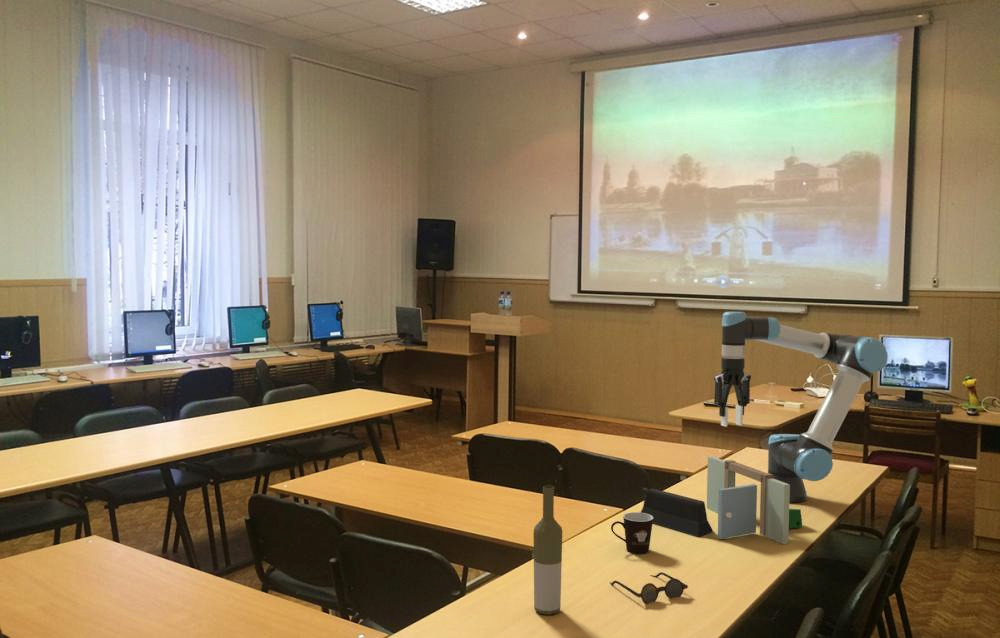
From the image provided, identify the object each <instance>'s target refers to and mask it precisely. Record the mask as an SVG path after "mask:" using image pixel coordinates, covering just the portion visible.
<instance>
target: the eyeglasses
mask: <svg viewBox="0 0 1000 638" xmlns="http://www.w3.org/2000/svg"><path fill="white" fill-rule="evenodd" d="M649 576H650V577H653V578H658V577H660V576H665V577H666V578H668V579H669V580H668V581H667V582H666V583H665V585H664V586H658V587H657V586H656V585H655V584H654V583H651V582H648V583H645V584H644V586H643V587H642V588H641V591H640V593H638V592H637V591H635V590H633V589H632V588H630V587H628V586H627V585H625V584H624V583H621V582H620V581H618V580H613V581H612V582H611V581H610V582H609V584H610V585H611V586H614V585H615V584H618V585H619V586H621V587H622V588H623V589H625V590H626V591H628V592H630V594H632V595H634V596H635V597H637V598H641V601H642V602H643V603H644V605H648V604H651V603H655V602H656V601H657V600H658V597H659V593H661V592H664V594H665V596H666V597H667V598H668V599H675V598H681V597H682V595H683V593H684V590H686V589H688V588H689V586H688V584H685V583H684V582H682V581H681V580H680V579H678V578H674V577H673V576H671V575H669V574H667V573H665V572H658V573H657V574H656V575H649Z"/></svg>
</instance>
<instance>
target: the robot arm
mask: <svg viewBox="0 0 1000 638" xmlns="http://www.w3.org/2000/svg"><path fill="white" fill-rule="evenodd" d="M721 321H722V322H721V330H722V332H721V356H722V358H721V362H720V364H721V366H720V368H721V373H720V374H719V375H714V376H713V380H714V401H713V403H714V405H715V406H718V407H719V412H718V414H719V417H720V426H722V427H725V428H727V427H728V422H729V421H728V420H729V413H728V412H729V407H728V406H727V403H728V398H729V396H730V391H731V389H732V387H734V391H735V396H736V401H737V405H735V425H737V426H740V427H742V426H743V418H744V417H743V416H744V415H745V407H747V405H749V404H750V402H751V401H750V399H751V398H750V397H751V394H750V391H751V390H750V387H751V386H750V385H751V379H752V376H751V375H750V374H745V372H744V369H745V367H746V366H745V363H746V362H745V356H746V340H747V341H749V340H755V341H758V342H763V343H766V344H770V345H775V346H779V347H783V348H787V349H792V350H796V351H799V352H805V353H807V354H811V355H813V356H814V357H815V358H817V359H819V360H820V359H821V360H824V361H828V362H830V363H832V364H836V369H837V373H836V376H835V377H834V379H833V381H832V383H831V385H830V387H829V389H828V390H827V392H826V395H825V397H824V398H823V401H822V402H821V405H820V407H819V408H818V410H817V411H816V414H815V416H814V418H813V420H812V421H811V424H810V425H809V428H808V430H807V431H806V432H803V433H800V434H795V433H792V434H791V433H778V434H775V433H774V434H771V435H770V436H769V438H768V443H767V446H768V457H767V459H768V460H767V463H768V464H767V473H770V474H772V475H773V479H776V480H779V481H781V482H784V483H787V484H790V497H789V504H790V503H802V502H805V501H807V495H808V493H807V490H806V487H805V484H804V483H805V482H804V481H803V480H806V481H809V482H818V481H821V480H824V479H825V478H827V477H828V476H829V474H830V473H831V471H832V469H833V465H834V462H833V458H832V454H833V452H834V448H833V445H832V444H833V441H835V440H834V439H835V438H836V436H837V433H838V432H839V430H840V428H841V426H842V425H843V422H844V421H845V418H846V417H847V415H848V412H849V411H850V409H851V407H852V405H853V403H854V400H855V399H856V397H857V395H858V393H859V392H860V389H861V387H862V385H863V383H866V382H869V381H870V380H871V378H872V376H873V374H874V373H878V372H880V371H882V370H883V369H884V368H886V365H887V363H888V356H889V355H888V352H887V348H886V346H885V344H884V343H883V342H882V341H881V340H879V339H878V338H875V337H870V336H862V335H861V336H860V335H854V334H852V335H851V334H835V333H829V332H820V333H816V332H812V331H809V330H808V331H807V330H805V329H800V328H796V327H791V326H789V325H788V326H787V325H785V324H780V321H779V320H778V318H775V317H767V316H766V317H761V316H760V317H759V316H747V315H746V312H744V311H725V312H723V314H722V319H721Z"/></svg>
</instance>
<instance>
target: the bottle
mask: <svg viewBox="0 0 1000 638" xmlns="http://www.w3.org/2000/svg"><path fill="white" fill-rule="evenodd" d="M554 495H555V486H554V485H549V484H547V485H543V486H542V517H541V519H540V521H538V522H537V524H536V525H535V526H534V529H533V601H534V602H533V607H534V611H535V612H537V613H539V614H542V615H554V614H558V613H559V612H560V611H561V602H562V601H561V597H562V596H561V595H562V594H561V593H562V568H563V567H562V564H563V563H562V561H563V560H562V559H563V556H562V555H563V527H562V526H561V525H560V524H559V523H558V521H557V520H556V519H555V518H554V517H555V516H554V515H555V514H554V512H555V511H554V509H555V507H554V506H555V505H554V504H555V501H554V497H555V496H554Z"/></svg>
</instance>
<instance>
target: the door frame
mask: <svg viewBox="0 0 1000 638" xmlns="http://www.w3.org/2000/svg"><path fill="white" fill-rule="evenodd" d="M706 474H707V475H706V477H707V478H706V479H707V480H706V481H707V482H706V509H707V510H710V511H712V512H714V513H716V514H718V502H719V489H724V488H731V487H736V474H738V475H741V476H743V477H744V476H745V477H747V478H749V479H751V480H755V481H757V482H760V503H759V504H760V505H759V507H760V508H759V535H762V536H763V537H766V538H769V539H771V540H773V541H775V542H777V543H779V544H782V545H788V544H789V530H790V529H789V509H790V503H789V497H790V484H787V483H784V482H781V481H779V480H776V479H773V475H772V474H770V473H768V472H764V471H762V470H759V469H757V468H753V467H752V466H748V465H745V464H743V463H739V462H737V461H736V460H733V459H729V460H724V459H722V458H718V457H715V456H707V473H706Z"/></svg>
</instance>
